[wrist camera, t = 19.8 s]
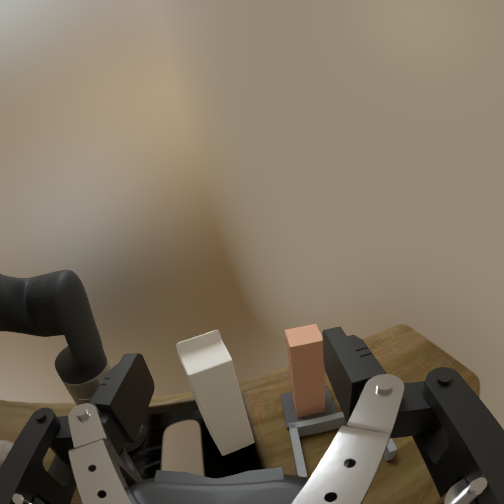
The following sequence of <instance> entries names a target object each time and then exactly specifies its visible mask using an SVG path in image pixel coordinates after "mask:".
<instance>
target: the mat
mask: <svg viewBox="0 0 504 504" xmlns="http://www.w3.org/2000/svg"><path fill="white" fill-rule="evenodd" d="M281 398H282V403H283V409H284V414H285V420H286V426H287V430H289V423H294V422H300V421H305V420H310V419H314V418H319V417H323V416H327V415H331V414H335V413H337V411H336V409H335V406H334V403H333V401H332V398H331V396H330V393H329V391H328V388H327V386H326V385H325V412H321V413H317V414H312V415H308V416H303V417H298V418H297V414H296V410H295V406H294V402H293V396H292V392H291V393H285V394H281Z"/></svg>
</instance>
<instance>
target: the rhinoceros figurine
mask: <svg viewBox="0 0 504 504" xmlns="http://www.w3.org/2000/svg"><path fill="white" fill-rule="evenodd" d="M13 445H14V443H13V442H11V441H7V440H0V467H1V465H2V464H3V462H4V460H5V458H6V457H7V455H8V453H9V451H10V450H11V448H12V446H13Z"/></svg>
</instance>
